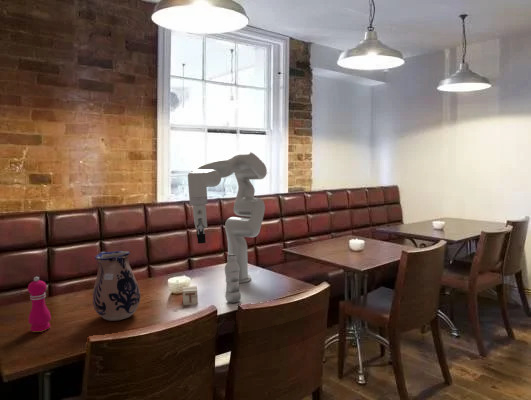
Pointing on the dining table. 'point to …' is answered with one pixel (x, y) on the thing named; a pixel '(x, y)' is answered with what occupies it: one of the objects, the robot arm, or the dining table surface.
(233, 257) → the silver metal bottle
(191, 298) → the beige cube
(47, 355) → the dining table surface
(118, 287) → the ceramic pitcher
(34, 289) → the pepper mill
